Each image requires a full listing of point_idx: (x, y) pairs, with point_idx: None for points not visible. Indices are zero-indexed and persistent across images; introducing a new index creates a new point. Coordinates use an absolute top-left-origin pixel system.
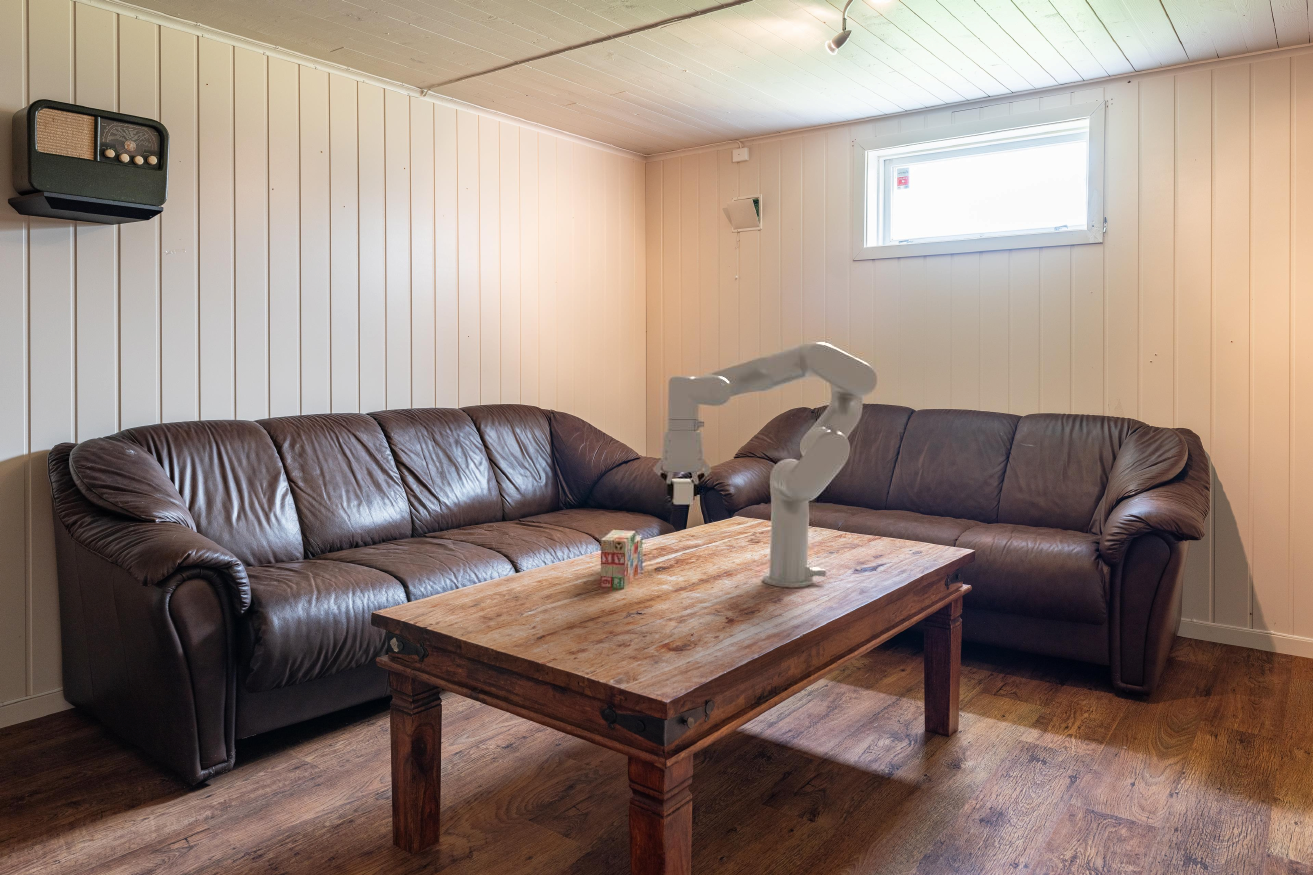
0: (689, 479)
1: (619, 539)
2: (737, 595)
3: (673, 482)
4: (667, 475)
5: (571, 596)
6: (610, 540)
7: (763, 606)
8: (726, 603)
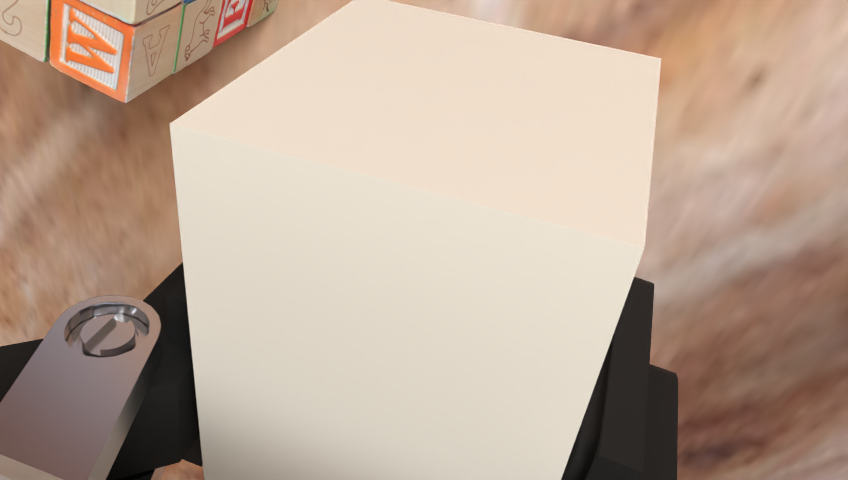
0: (605, 338)
1: (80, 43)
2: (805, 255)
3: (209, 450)
4: (18, 419)
5: (70, 83)
6: (30, 55)
7: (818, 418)
8: (677, 340)
